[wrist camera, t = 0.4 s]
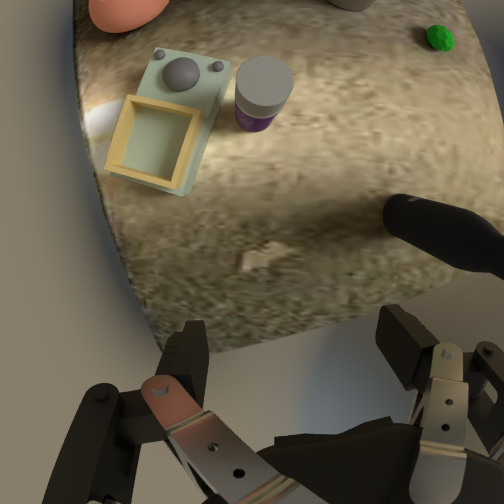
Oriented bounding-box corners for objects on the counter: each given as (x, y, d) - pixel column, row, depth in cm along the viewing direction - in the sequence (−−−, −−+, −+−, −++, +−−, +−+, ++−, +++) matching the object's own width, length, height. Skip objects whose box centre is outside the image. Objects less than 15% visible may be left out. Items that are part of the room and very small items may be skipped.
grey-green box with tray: (167, 63, 30) (148, 37, 21) (231, 78, 31) (229, 51, 23) (129, 173, 34) (98, 176, 25) (190, 191, 35) (175, 199, 27)
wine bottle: (400, 244, 39) (557, 347, 10) (374, 218, 37) (554, 314, 9) (423, 211, 37) (589, 281, 9) (398, 184, 36) (586, 235, 7)
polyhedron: (418, 40, 29) (434, 31, 24) (425, 25, 28) (440, 16, 23) (440, 59, 30) (456, 53, 25) (445, 43, 29) (461, 36, 24)
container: (231, 127, 33) (226, 99, 19) (241, 94, 32) (243, 48, 18) (267, 136, 34) (287, 115, 19) (276, 103, 32) (301, 64, 18)
